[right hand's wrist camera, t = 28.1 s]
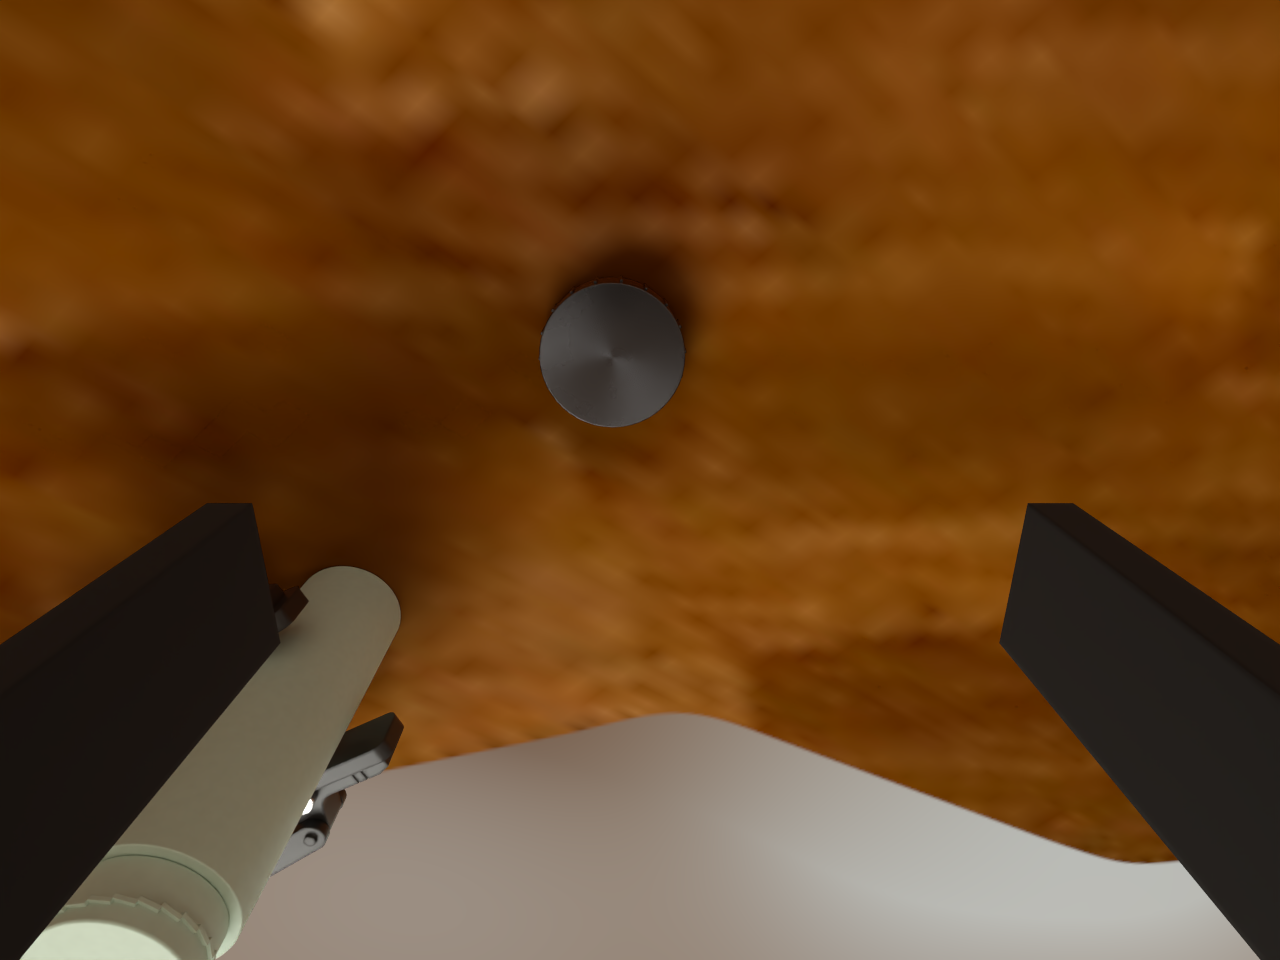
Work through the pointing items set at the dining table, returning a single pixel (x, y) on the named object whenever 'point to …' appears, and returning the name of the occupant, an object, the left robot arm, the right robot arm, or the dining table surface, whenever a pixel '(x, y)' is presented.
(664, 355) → the lid
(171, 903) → the pale green capped tube
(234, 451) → the dining table surface
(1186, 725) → the right robot arm
